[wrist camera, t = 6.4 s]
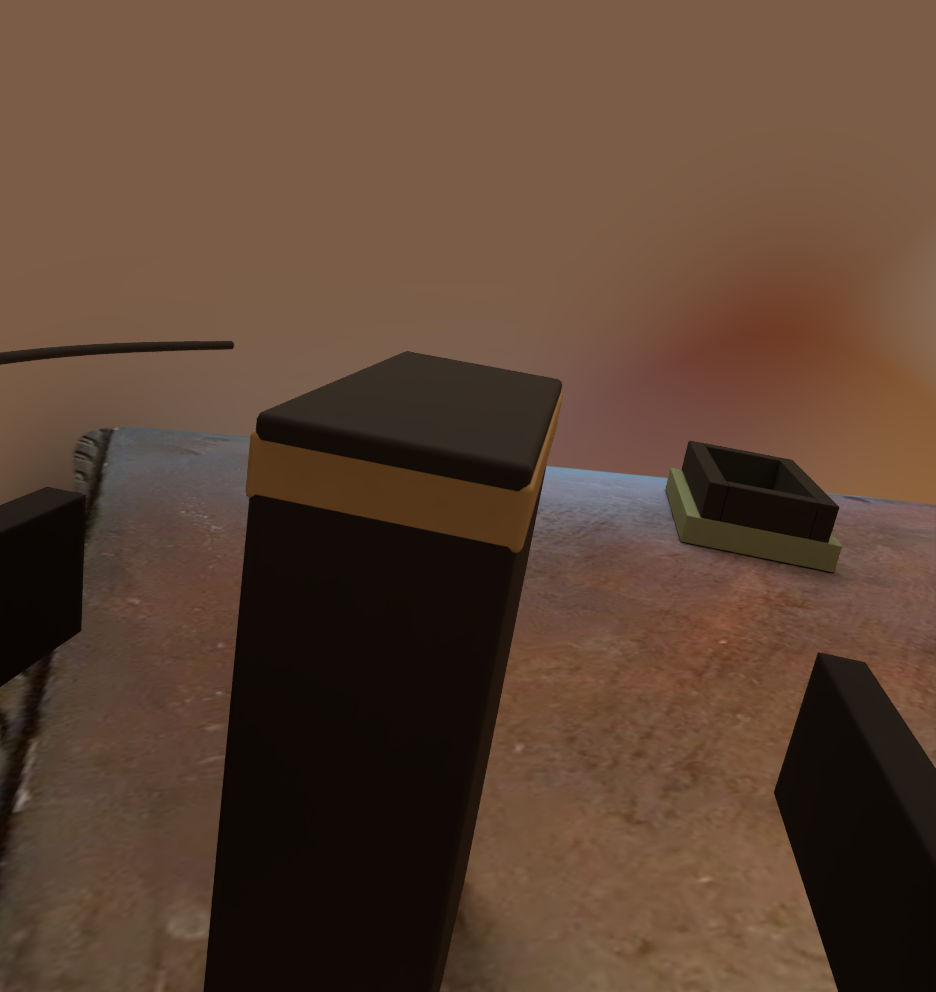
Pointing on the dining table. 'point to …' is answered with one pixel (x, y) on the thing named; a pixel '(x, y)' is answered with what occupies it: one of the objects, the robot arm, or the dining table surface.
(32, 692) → the dining table surface
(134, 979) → the dining table surface
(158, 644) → the dining table surface
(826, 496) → the black and green tray
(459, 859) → the dark brown banded block
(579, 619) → the dining table surface
